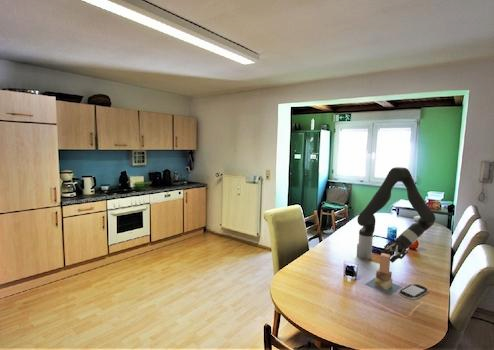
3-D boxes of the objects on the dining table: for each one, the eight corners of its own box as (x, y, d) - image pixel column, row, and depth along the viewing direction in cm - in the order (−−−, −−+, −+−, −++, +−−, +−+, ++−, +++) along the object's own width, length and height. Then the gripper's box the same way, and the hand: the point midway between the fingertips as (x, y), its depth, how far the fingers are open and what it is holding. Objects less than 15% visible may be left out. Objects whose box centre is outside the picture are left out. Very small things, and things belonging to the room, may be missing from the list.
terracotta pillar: (379, 271, 158) (380, 255, 157) (380, 269, 162) (381, 252, 161) (388, 274, 155) (389, 257, 154) (389, 271, 159) (390, 254, 158)
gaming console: (413, 303, 144) (413, 298, 144) (396, 295, 151) (396, 290, 151) (430, 292, 154) (431, 288, 154) (413, 285, 162) (414, 281, 162)
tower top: (376, 277, 159) (376, 271, 159) (380, 274, 163) (381, 268, 163) (386, 281, 155) (387, 275, 154) (391, 278, 159) (391, 271, 158)
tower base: (374, 285, 160) (374, 277, 159) (379, 281, 164) (380, 274, 164) (386, 289, 155) (387, 282, 154) (391, 286, 159) (392, 278, 159)
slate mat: (364, 285, 160) (364, 284, 160) (376, 278, 170) (376, 276, 170) (390, 296, 149) (390, 295, 149) (402, 287, 159) (402, 286, 158)
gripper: (395, 230, 164) (375, 249, 164) (411, 238, 150) (389, 259, 150) (402, 238, 165) (383, 257, 165) (419, 247, 151) (398, 268, 151)
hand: (386, 258), depth 158 cm, fingers open, 8 cm apart
